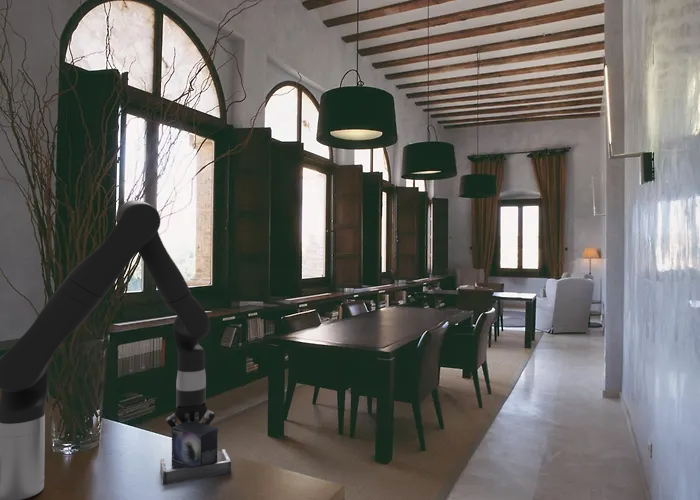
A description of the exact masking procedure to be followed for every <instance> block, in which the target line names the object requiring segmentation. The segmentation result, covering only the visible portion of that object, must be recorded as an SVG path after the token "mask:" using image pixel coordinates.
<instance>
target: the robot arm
mask: <svg viewBox="0 0 700 500" xmlns="http://www.w3.org/2000/svg"><path fill="white" fill-rule="evenodd" d="M115 220H116V224H115V225H114V227H113V228H112V230H111V231H110V233H108V235H107V237H106V239H105V240H104V241H103V242H102V243H101V245H99V246H98V247H97V248H96V249H95V250H94V251H93V252H91V253H90V254H89V255H87V256H86V257H85V258H84V259H83V260H82V261H81V262H80V263H78V264H77V265H76V266H75V267H74V268H73V269H72V270H71V271H70V272H69V273H68V275H67V276H66V277H65V279H63V281H62V282H61V283H60V285H58V287H57V289H55V291H54V292H53V294H52V295H51V297H50V298H49V299H48V301H47V302H46V303H45V305H44V307H43V308H42V310H41V311H40V313H39V314H38V315H37V317H36V319H35V320H34V322H33V323H32V324H31V326H30V327H29V328H28V329H27V330H26V332H25V333H24V334H23V335H22V336H21V337H20V338H19V339H18V340H17V341H16V342H15V343H14V344H13V345H12V346H11V347H10V348H9V349H8V350H7V351H6V352H5V353H3V355H1V356H0V390H1V393H0V500H25V499H26V500H27V499H29V498H32V497H34V496H36V495H37V494H39V493H40V492H42V491H43V489H44V488H45V450H46V449H45V447H46V446H45V440H46V439H45V437H46V435H45V434H46V432H45V431H46V430H45V429H46V427H45V426H46V404H47V399H48V382H49V381H48V379H49V376H48V375H49V361H50V360H51V359H52V358H53V355H54V354H55V352H56V351H57V350H58V348H59V347H60V346H61V345H62V344H63V342H64V341H65V340H66V339H67V338H68V337H69V336H70V335H71V334H72V333H73V332H75V330H76V329H77V328H79V326H80V325H82V323H83V322H85V320H86V319H87V318H88V317H89V316H90V315H91V314H92V312H94V310H95V309H96V308H97V306H98V305H99V304H100V303H101V301H102V300H103V299H104V298H105V296H106V295H107V294H108V292H109V290H110V289H111V288H112V286H114V284H115V282H116V281H117V280H118V279H119V277H120V275H121V274H122V273H123V272H124V269H125V268H126V266H127V265H128V264H129V263H130V261H132V259H133V258H134V257H135V256H136V255H137V254H139V256H140V258H141V259H142V261H143V262H144V264H145V266H146V268H147V271H148V273H149V274H150V276H151V279H152V280H153V283H154V285H155V286H156V289H157V291H158V293H159V295H160V297H161V299H162V301H163V302H164V304H165V306H166V308H167V309H168V310H169V311H171V312H172V313H175V315H176V317H175V318H174V321H173V325H172V329H173V330H172V332H173V338H174V343H175V347H176V351H177V375H176V383H175V386H176V391H175V392H176V398H175V399H176V400H175V401H176V402H175V404H176V405H175V408H174V410H173V411H174V413H172V414H171V415H170V416H167V417H166V419H165V420H166V423H167V424H168V426H169V427H170V428H171V429H172V427H174V426H177V425H178V424H177V422H178V421H180V424H182V423H184V422H186V421H194V422H198V423H202V424H206V425H210V424H211V422H212V421H213V420H214V419H215V417H216V414H215V413H214V411H212V410H209V409H208V407H207V404H206V402H207V401H206V400H207V399H206V396H207V395H206V394H207V393H206V392H207V388H206V387H207V378H206V377H207V374H206V352H205V349H204V348H203V346H201V345H200V343H199V340H202V339H204V338H205V337H208V335H209V333H210V331H211V322H210V317H209V316H208V314H207V312H206V311H205V310H204V308H203V307H202V306H201V304H200V303H199V301H198V300H197V299H196V298H195V297H194V296H193V294H192V291H191V289H190V288H189V285H188V284H187V282H186V279H185V278H184V276H183V274H182V273H181V271H180V269H179V268H178V265H177V264H176V263H175V262H174V260H173V258H172V257H171V255H170V254H169V252H168V250H167V249H166V247H165V245H164V243H163V241H162V239H161V236H160V233H159V229H160V225H161V215H160V213H159V211H158V210H157V209H156V208H155V206H153V205H151V204H149V203H147V202H145V201H141V200H136V199H135V200H129V201H126V202H123V204H122V205H120V206H119V208H118V210H117V212H116V216H115ZM203 418H204V419H203ZM177 419H178V421H177ZM202 419H203V420H202ZM200 421H201V422H200Z"/></svg>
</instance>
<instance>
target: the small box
mask: <svg viewBox="0 0 700 500" xmlns="http://www.w3.org/2000/svg"><path fill="white" fill-rule="evenodd" d="M218 429H219V427H216V426H213V425H210V424H209V425H206V424H202V422H194V421H186V422H184V423H179V424H177V426H174V427H172V428H171V467H172V468H174V469H179V468H185V467H191V466H197V465H203V464H209V463H216V462H218V431H219V430H218Z"/></svg>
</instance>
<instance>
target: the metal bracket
mask: <svg viewBox="0 0 700 500" xmlns="http://www.w3.org/2000/svg"><path fill="white" fill-rule="evenodd" d="M220 460H221V461H217V462H216V463H209V464H203V465H197V466H191V467H185V468H179V469H177V468H174V469H169V470H167V467H166V466H167V465H166V462H165V458H160V466H159V467H160V469H159V470H160V476H161V481H162V482H161V483H162V485H163V486H166V485H172V484H178V483H182V482H184V483H185V482H188V481H194V480H200V479H205V478H206V479H207V478H212V477H219V476H223V475H228V474H231V473H232V461H231V458H230V457H229V455H228V453H227V450H226V449H225V448H224V449H221V459H220Z"/></svg>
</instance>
